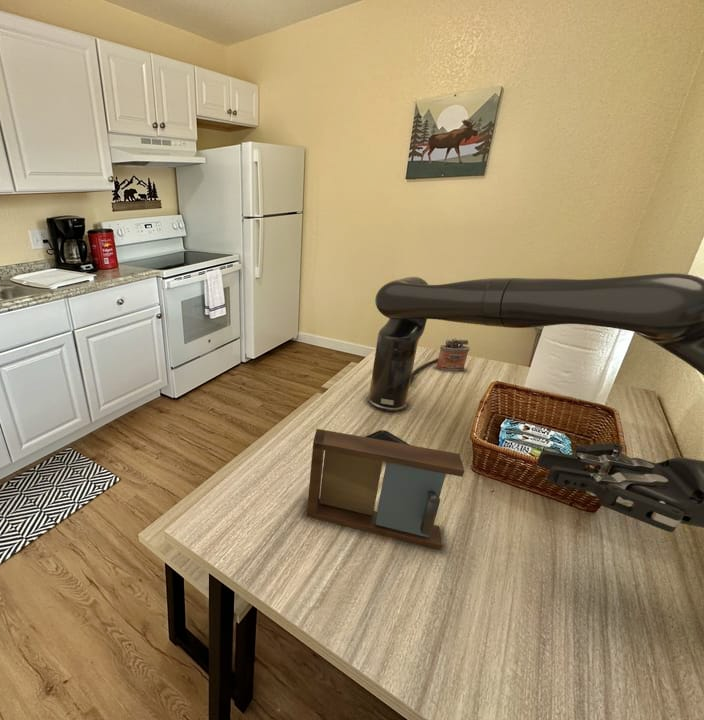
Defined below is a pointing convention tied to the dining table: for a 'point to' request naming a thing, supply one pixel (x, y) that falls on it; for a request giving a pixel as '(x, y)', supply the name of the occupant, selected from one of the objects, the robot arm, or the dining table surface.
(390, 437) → the phone
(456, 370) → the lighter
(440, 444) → the dining table surface
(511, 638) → the dining table surface
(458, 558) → the dining table surface
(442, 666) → the dining table surface
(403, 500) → the closet door
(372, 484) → the frame
